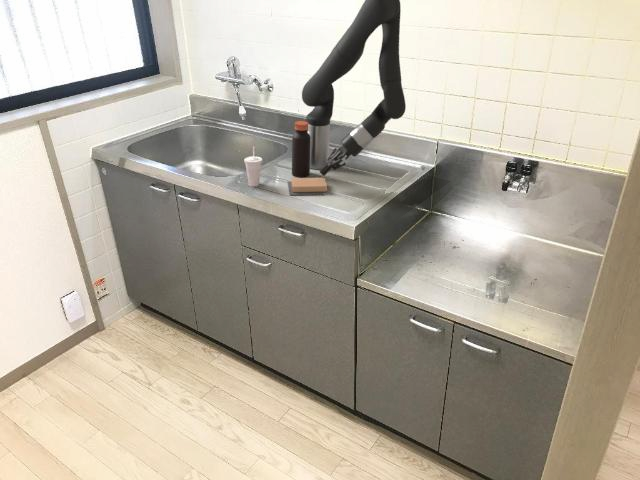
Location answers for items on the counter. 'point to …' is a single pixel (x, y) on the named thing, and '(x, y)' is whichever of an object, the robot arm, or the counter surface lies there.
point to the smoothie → (253, 169)
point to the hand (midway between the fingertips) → (321, 173)
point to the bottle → (301, 150)
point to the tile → (308, 185)
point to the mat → (302, 192)
